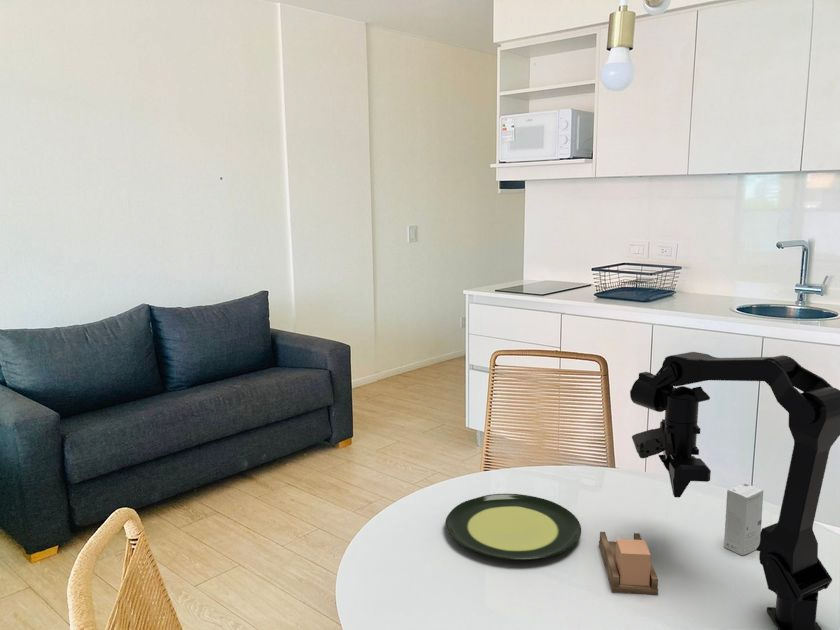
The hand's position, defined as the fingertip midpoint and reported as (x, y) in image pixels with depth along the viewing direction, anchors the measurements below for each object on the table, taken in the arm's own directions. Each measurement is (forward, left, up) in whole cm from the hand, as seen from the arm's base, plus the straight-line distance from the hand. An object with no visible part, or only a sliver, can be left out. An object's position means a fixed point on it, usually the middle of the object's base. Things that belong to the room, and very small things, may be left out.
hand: (676, 496), depth 126 cm
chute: (-6, +10, -12) cm, 17 cm away
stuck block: (-11, +10, -11) cm, 18 cm away
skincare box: (+4, -14, -12) cm, 19 cm away
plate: (+6, +31, -12) cm, 34 cm away
